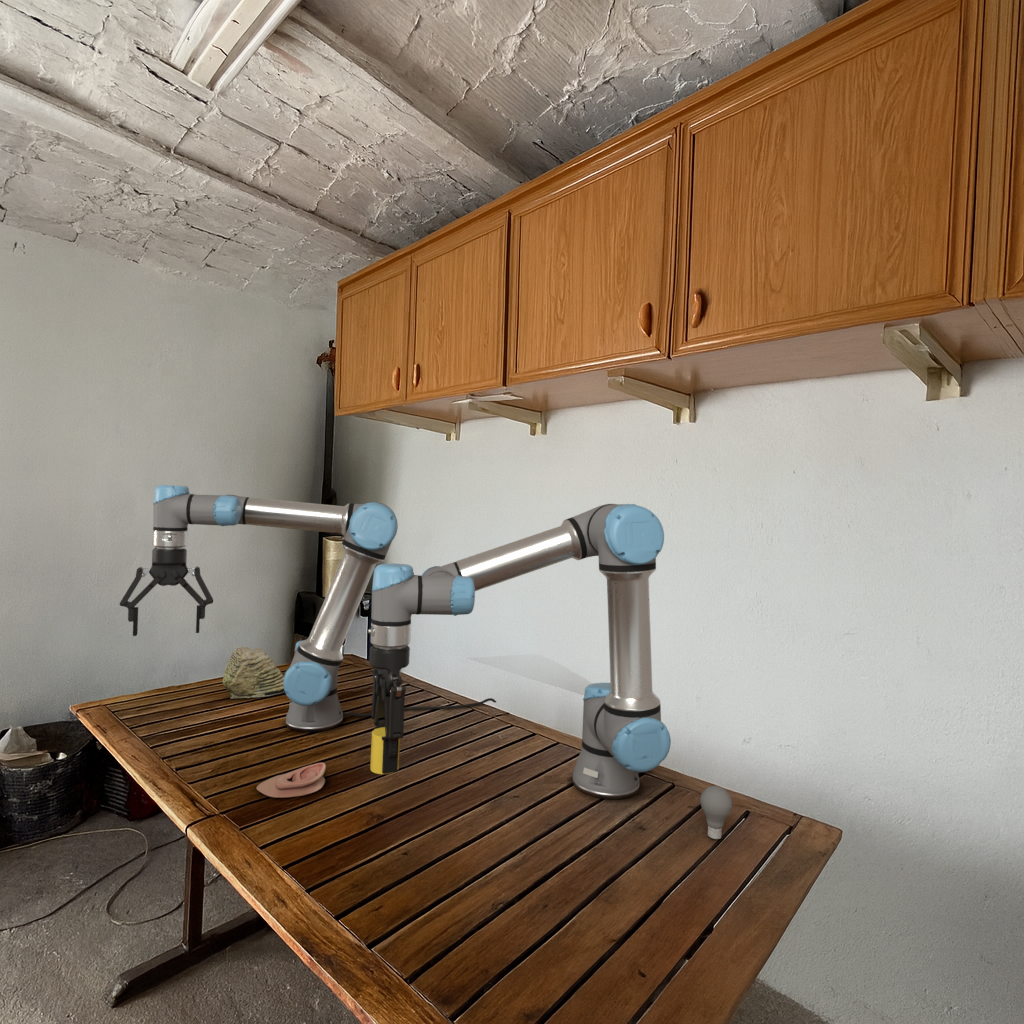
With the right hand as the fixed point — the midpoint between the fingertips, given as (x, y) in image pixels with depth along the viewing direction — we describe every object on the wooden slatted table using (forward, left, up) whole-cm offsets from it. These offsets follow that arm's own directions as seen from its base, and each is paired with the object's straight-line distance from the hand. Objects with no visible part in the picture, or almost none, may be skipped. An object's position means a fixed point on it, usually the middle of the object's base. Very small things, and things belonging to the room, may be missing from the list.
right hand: (385, 765), depth 121 cm
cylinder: (0, 0, -1) cm, 1 cm away
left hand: (+43, -56, +15) cm, 73 cm away
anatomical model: (+15, -23, -13) cm, 31 cm away
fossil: (+22, -92, -13) cm, 95 cm away
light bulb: (-60, +23, -13) cm, 66 cm away
